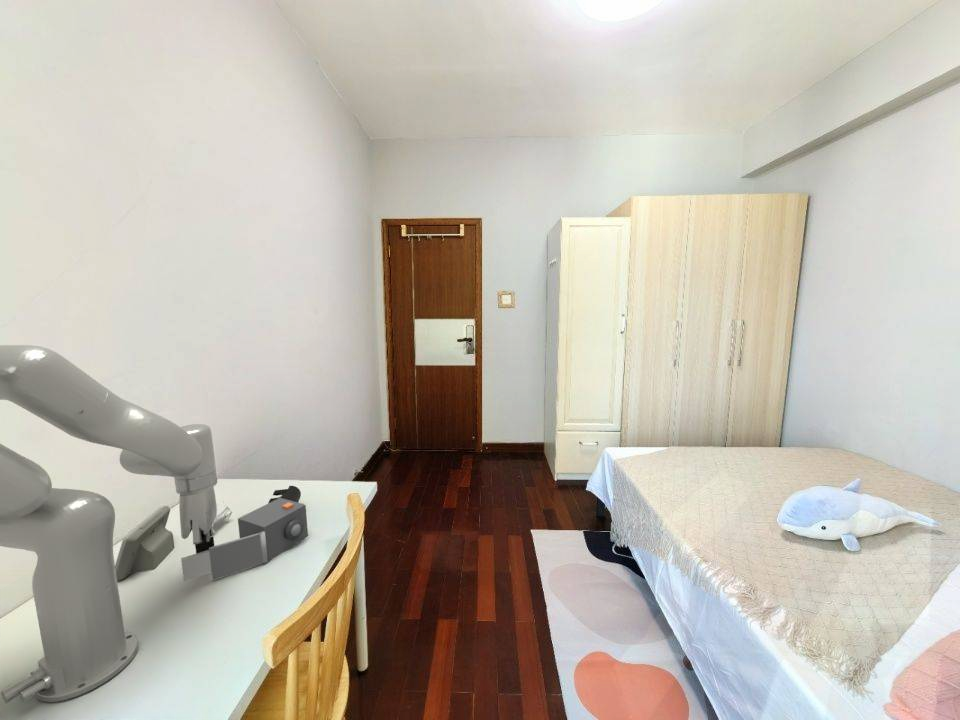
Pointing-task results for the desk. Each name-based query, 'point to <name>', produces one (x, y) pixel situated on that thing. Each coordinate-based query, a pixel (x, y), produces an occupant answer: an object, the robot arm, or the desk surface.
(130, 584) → the desk surface
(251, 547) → the side door
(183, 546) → the desk surface
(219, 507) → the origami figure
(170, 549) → the digital clock
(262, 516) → the camera body
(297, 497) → the black curved claw shape
